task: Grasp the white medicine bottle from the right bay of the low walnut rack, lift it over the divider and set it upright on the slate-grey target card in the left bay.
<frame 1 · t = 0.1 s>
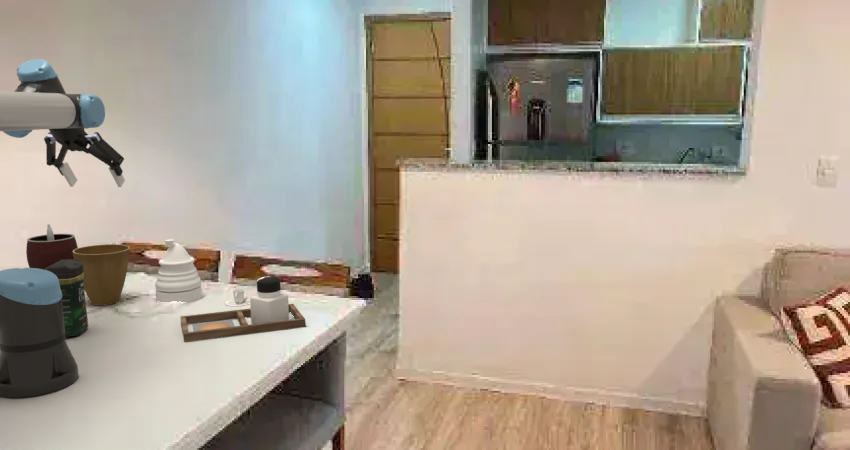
hand: (97, 183, 180), 36 cm above the table, tool tilted 35°, fingers open, 13 cm apart
teacup and saucer: (249, 302, 197), on the table
honey pot: (179, 298, 200), on the table
medicine bottle: (270, 322, 177), resting in walnut rack
plant pot: (106, 302, 196), on the table
walnut rack: (242, 325, 174), on the table
coffee jar: (70, 333, 169), on the table
mate gourd: (56, 291, 209), on the table
target card: (214, 328, 171), resting in walnut rack
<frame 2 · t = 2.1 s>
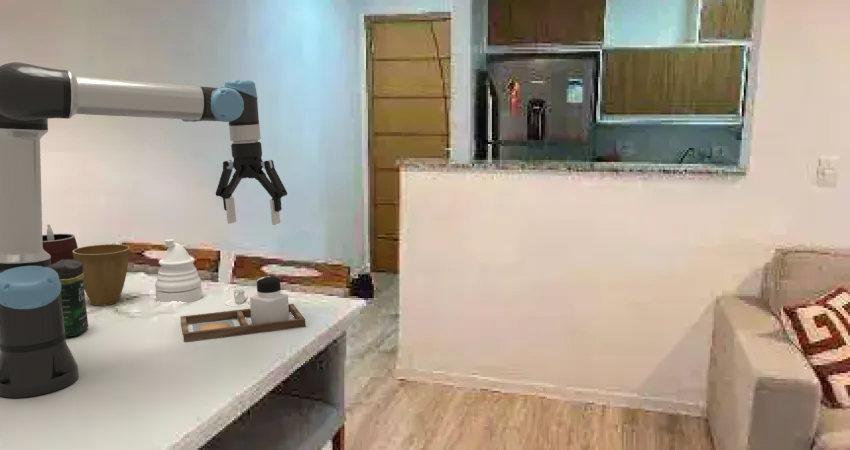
hand: (253, 223, 175), 26 cm above the table, tool pointing down, fingers open, 13 cm apart
nothing on the table moved.
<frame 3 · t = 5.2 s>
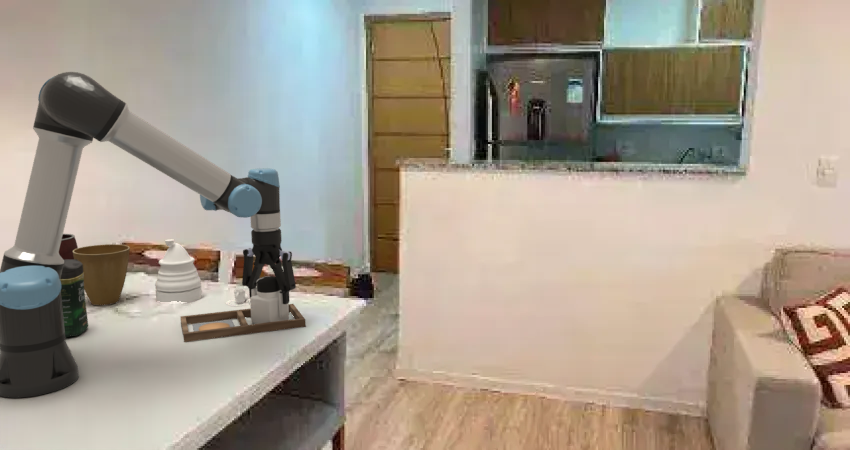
hand: (270, 313, 176), 2 cm above the table, tool pointing down, fingers closed on medicine bottle, 8 cm apart
medicine bottle: (270, 322, 177), resting in walnut rack, touching gripper
everything else where it was.
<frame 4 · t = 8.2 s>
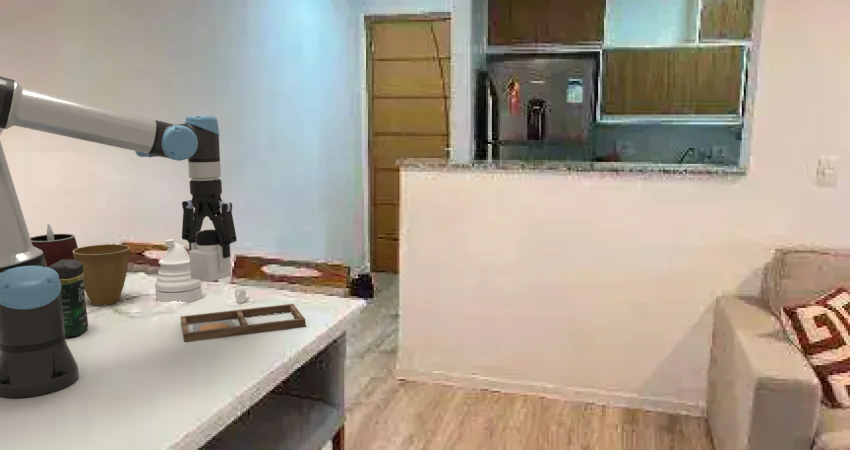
hand: (210, 268, 169), 16 cm above the table, tool pointing down, fingers closed on medicine bottle, 8 cm apart
medicine bottle: (211, 278, 169), point 13 cm above the table, touching gripper
everything else where it was.
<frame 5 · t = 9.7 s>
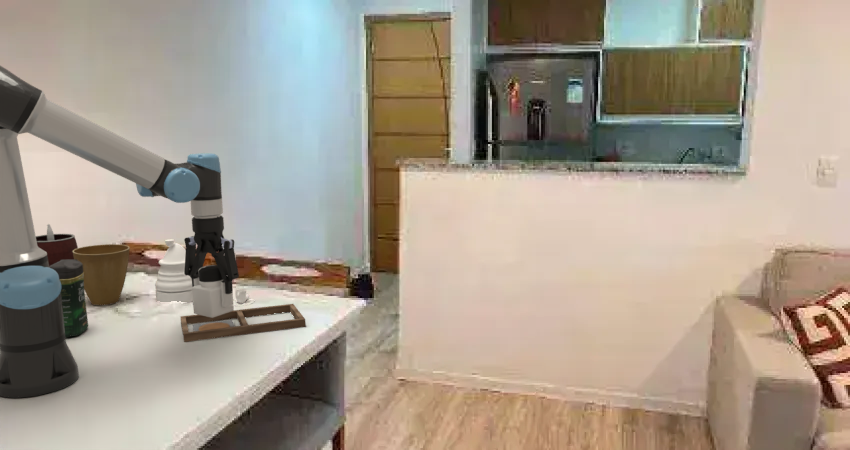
hand: (213, 304, 170), 7 cm above the table, tool pointing down, fingers closed on medicine bottle, 8 cm apart
medicine bottle: (214, 313, 171), point 4 cm above the table, touching gripper
everything else where it was.
when the fingers open (4 cm above the table, at t = 11.1 s): medicine bottle stays where it is, resting on target card.
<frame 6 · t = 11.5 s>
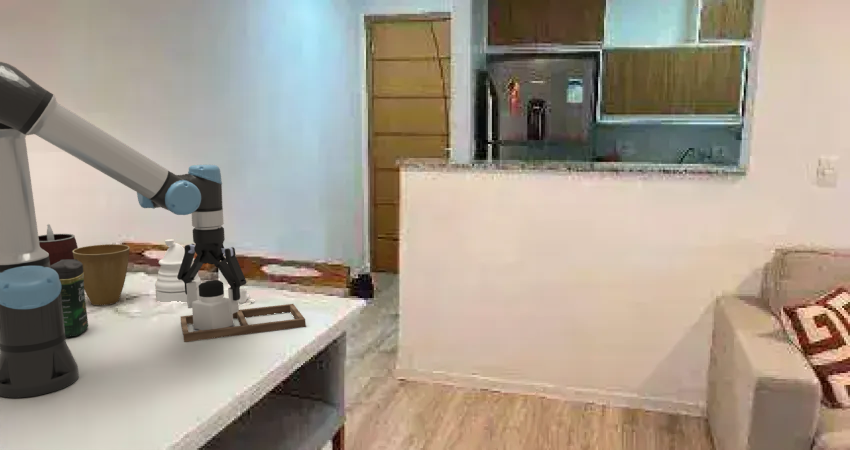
hand: (213, 309, 171), 5 cm above the table, tool pointing down, fingers open, 12 cm apart
medicine bottle: (213, 327, 171), resting on target card
everything else where it was.
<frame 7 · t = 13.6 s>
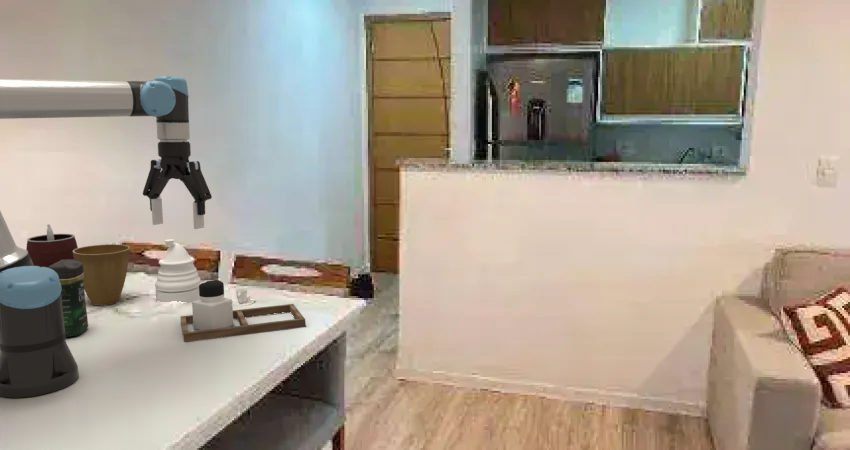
hand: (178, 226, 168), 27 cm above the table, tool pointing down, fingers open, 13 cm apart
nothing on the table moved.
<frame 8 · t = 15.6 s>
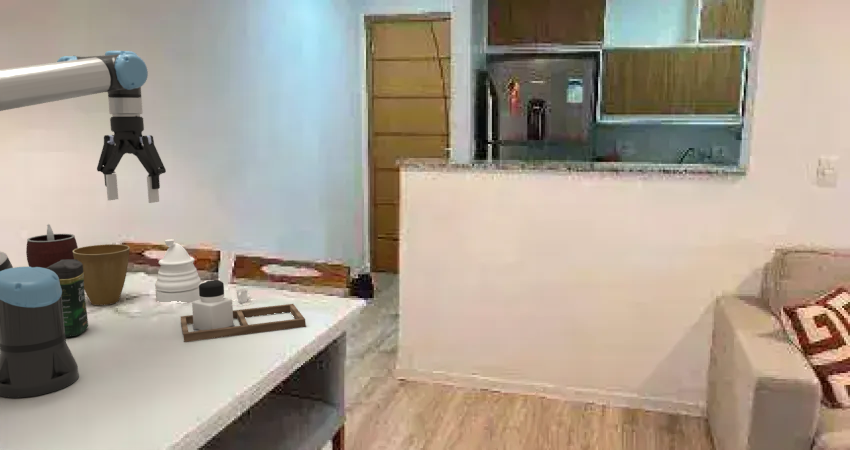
hand: (133, 201, 169), 33 cm above the table, tool pointing down, fingers open, 13 cm apart
nothing on the table moved.
at the end: medicine bottle inside the target area on the walnut rack (0.1 cm from its centre), point 0.2 cm above the walnut rack's base; medicine bottle tilted 0°; the gripper is holding nothing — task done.
